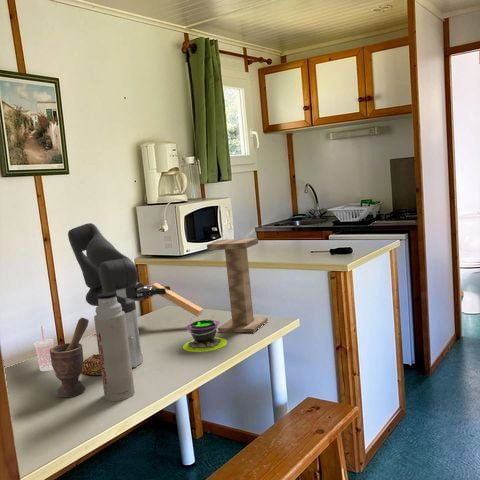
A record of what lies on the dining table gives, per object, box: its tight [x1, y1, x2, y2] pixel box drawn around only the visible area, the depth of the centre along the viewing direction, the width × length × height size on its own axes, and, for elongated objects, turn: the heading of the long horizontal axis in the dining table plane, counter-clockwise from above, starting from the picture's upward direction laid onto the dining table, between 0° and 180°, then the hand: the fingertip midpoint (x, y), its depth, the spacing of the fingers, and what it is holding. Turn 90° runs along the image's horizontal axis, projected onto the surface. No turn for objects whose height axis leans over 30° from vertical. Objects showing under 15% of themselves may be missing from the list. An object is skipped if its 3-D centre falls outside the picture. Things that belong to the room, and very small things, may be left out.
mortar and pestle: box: [50, 317, 89, 398], centre depth 150 cm, size 12×9×20 cm
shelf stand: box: [206, 237, 269, 333], centre depth 197 cm, size 16×14×32 cm
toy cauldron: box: [182, 315, 228, 353], centre depth 181 cm, size 15×15×11 cm
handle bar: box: [151, 282, 204, 317], centre depth 209 cm, size 22×3×2 cm, turn 68°
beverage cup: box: [33, 326, 55, 372], centre depth 172 cm, size 6×6×14 cm
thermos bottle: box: [93, 292, 136, 402], centre depth 143 cm, size 8×8×28 cm
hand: (167, 290), depth 210 cm, fingers closed on handle bar, 3 cm apart
